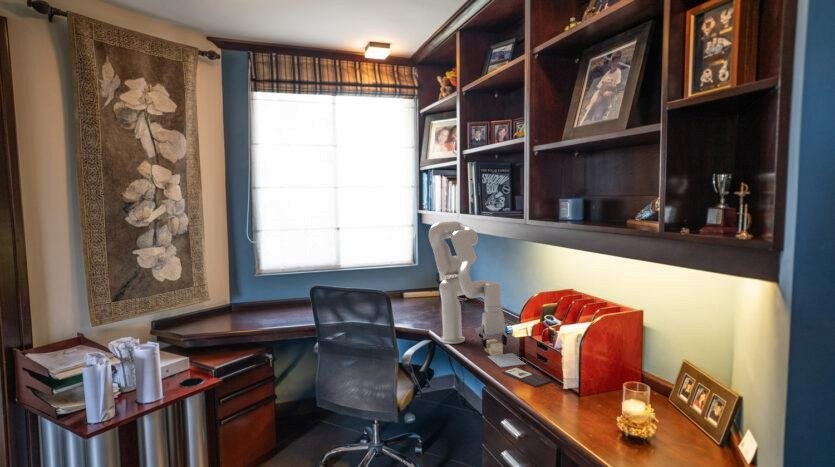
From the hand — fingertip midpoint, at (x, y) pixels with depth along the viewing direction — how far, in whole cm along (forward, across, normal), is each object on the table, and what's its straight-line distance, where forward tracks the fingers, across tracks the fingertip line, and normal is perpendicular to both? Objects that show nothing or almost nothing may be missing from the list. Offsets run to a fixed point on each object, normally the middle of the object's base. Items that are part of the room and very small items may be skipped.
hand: (494, 346), depth 208 cm
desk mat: (+3, -1, +11) cm, 12 cm away
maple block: (+3, 0, -1) cm, 3 cm away
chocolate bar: (+4, 0, +31) cm, 32 cm away
